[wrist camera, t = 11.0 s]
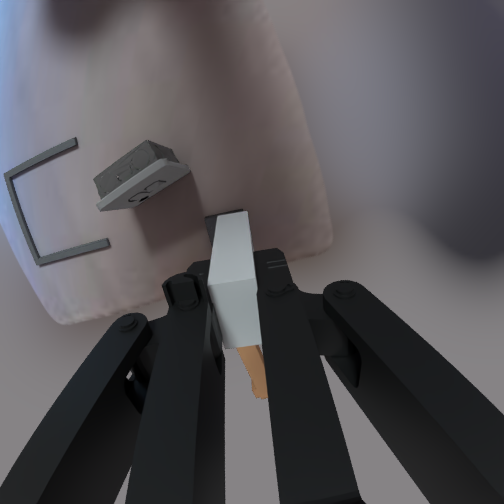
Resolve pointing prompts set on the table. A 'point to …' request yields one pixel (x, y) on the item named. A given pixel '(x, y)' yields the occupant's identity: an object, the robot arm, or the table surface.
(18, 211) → the bay
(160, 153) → the electrical switch
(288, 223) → the table surface
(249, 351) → the lever
